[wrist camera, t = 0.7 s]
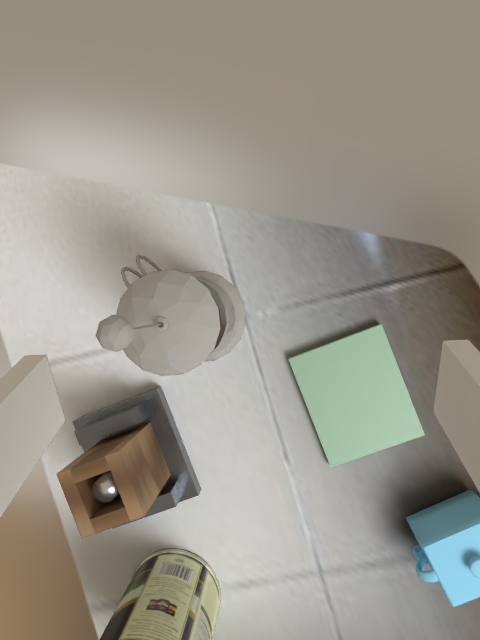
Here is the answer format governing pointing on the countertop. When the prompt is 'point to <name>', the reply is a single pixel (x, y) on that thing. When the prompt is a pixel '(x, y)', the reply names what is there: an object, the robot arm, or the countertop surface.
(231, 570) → the countertop surface
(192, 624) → the coffee can
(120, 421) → the peg stand
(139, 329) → the french press
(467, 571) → the teapot
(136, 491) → the sleeve
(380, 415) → the board
